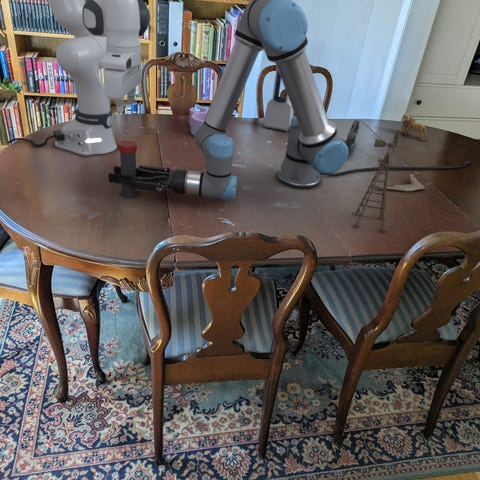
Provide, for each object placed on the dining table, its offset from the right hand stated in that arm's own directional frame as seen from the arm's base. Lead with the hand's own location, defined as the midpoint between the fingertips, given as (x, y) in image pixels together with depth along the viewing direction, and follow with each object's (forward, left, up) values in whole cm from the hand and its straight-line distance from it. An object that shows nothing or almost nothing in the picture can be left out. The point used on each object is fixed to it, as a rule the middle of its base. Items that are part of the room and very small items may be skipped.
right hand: (111, 174), depth 144 cm
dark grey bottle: (-5, +2, -6) cm, 8 cm away
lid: (-5, +2, +10) cm, 11 cm away
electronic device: (-80, -49, -6) cm, 94 cm away
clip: (-45, -49, -6) cm, 67 cm away
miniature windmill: (-73, +35, -6) cm, 81 cm away
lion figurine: (-142, -31, -6) cm, 145 cm away
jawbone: (-100, +13, -6) cm, 101 cm away
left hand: (-5, +2, +21) cm, 22 cm away
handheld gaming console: (-100, -20, -6) cm, 102 cm away
